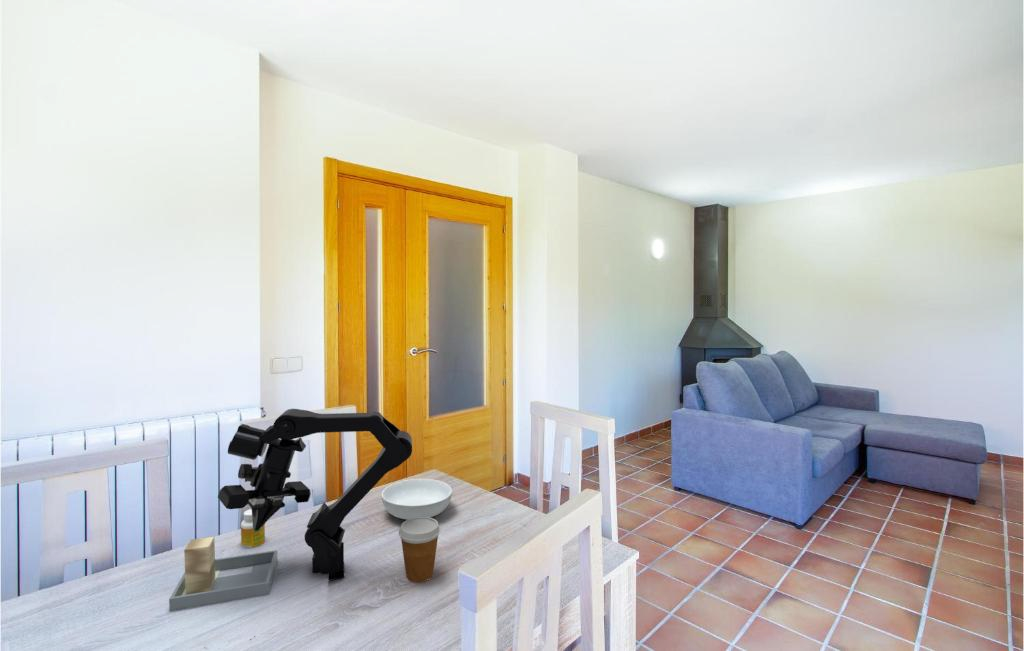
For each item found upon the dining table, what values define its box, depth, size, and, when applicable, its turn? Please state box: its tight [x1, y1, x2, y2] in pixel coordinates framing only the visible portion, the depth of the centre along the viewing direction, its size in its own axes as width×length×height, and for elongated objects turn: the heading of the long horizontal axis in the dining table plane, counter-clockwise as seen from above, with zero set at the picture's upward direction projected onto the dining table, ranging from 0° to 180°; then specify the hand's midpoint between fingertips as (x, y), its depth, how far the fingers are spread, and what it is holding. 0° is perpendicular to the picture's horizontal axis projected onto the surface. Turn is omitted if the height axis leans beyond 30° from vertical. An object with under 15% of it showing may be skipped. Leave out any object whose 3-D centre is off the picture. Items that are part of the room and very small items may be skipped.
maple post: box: [183, 536, 216, 595], centre depth 105 cm, size 4×4×10 cm
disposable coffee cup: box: [398, 517, 441, 583], centre depth 113 cm, size 10×10×12 cm
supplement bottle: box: [240, 508, 266, 549], centre depth 124 cm, size 5×5×10 cm
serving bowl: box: [380, 478, 453, 521], centre depth 146 cm, size 21×21×7 cm
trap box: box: [168, 549, 278, 612], centre depth 107 cm, size 18×14×4 cm
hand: (255, 529), depth 110 cm, fingers closed
